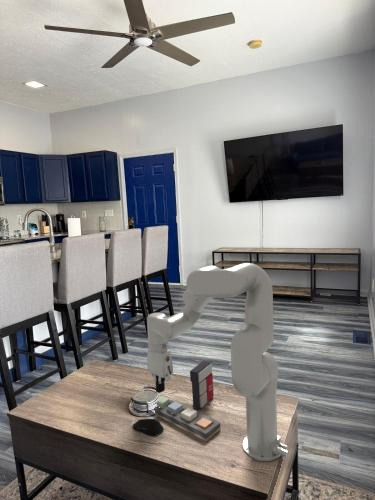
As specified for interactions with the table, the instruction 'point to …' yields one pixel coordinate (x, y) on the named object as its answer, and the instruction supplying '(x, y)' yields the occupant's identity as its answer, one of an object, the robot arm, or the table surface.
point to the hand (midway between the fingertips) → (160, 391)
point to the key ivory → (189, 414)
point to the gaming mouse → (148, 427)
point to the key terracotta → (204, 423)
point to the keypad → (188, 425)
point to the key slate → (175, 408)
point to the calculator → (202, 384)
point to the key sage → (162, 402)
